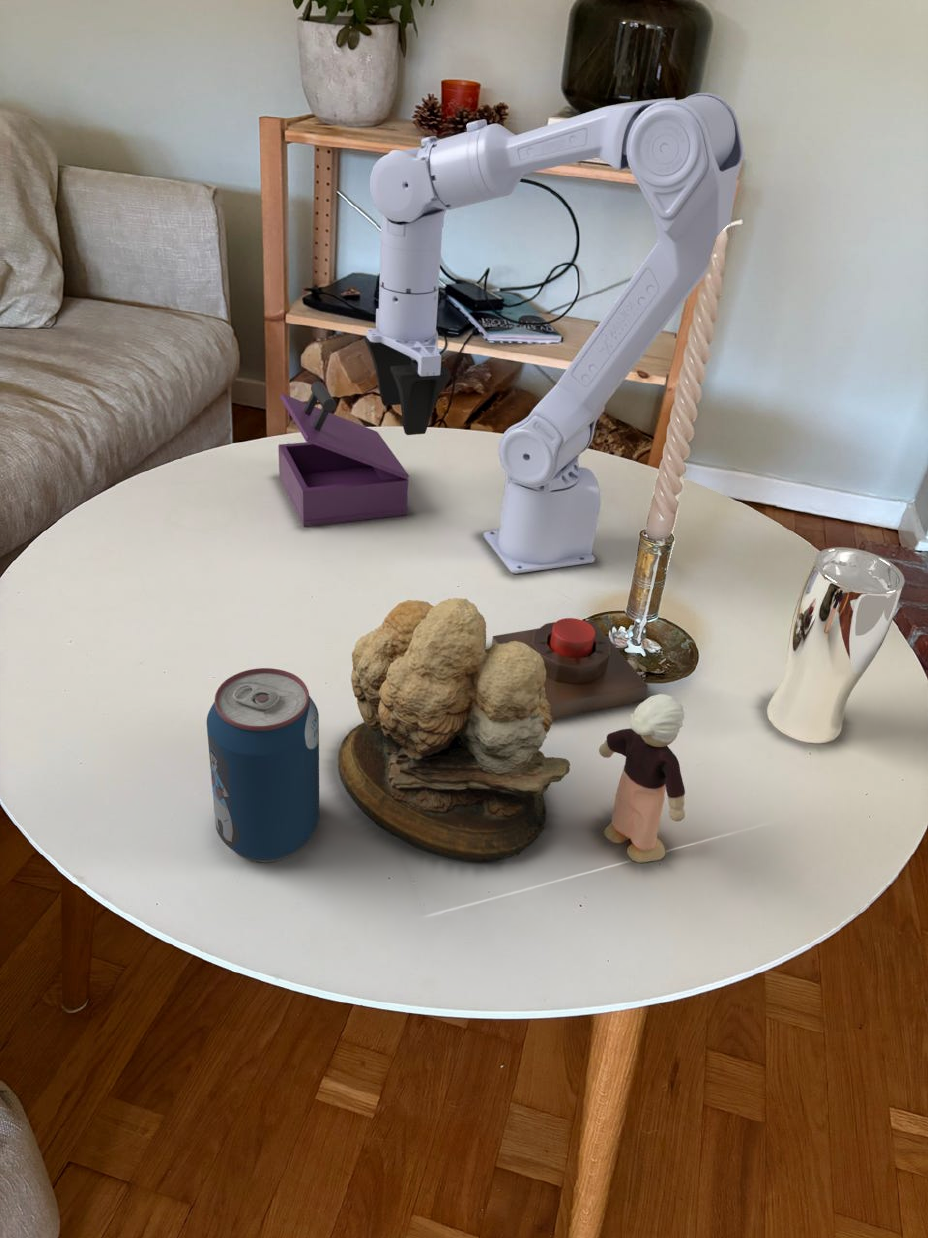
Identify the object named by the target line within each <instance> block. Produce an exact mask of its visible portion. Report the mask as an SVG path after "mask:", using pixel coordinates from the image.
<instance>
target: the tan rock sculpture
mask: <svg viewBox="0 0 928 1238" xmlns="http://www.w3.org/2000/svg"><path fill="white" fill-rule="evenodd" d="M351 662H352V671H351V674H350V675H351V676H350V682H351V687H352V691H353V695H354V697H355V698H356V699H357V700H356V704H357V708H358V710H359V713H360V716H361V718H362V720H363V722H362V723H360V724H358V725H357V726H355V727H354V728H352V730H350V731H349V732H348V733H347V734H346V736H345V737H344V738H343V740H342V741H341V745H340V747H339V750H338V756H337V760H338V761H337V762H338V763H337V766H338V774H339V777H340V781H341V783H342V785H343V786H344V789H345V791H346V792H347V793H348V795H349V797H350V798H351V799H352V801H353V802H354V803H355V804H356V805H357V806H358V808H359V809H361V811H362V812H363V813H364V814H365V815H367V816H368V817H369V819H371V820H372V821H373V822H374V823H376V824H377V825H379V826H380V827H382V828H383V829H385V830H386V831H388V832H389V833H390V834H393V835H394V836H396V837H398V838H400V839H402V840H404V841H406V842H407V843H409V844H410V845H412V846H414V847H416V848H419V849H421V850H424V851H426V852H428V853H432V854H434V855H439V856H443V857H448V858H450V859H455V860H464V861H478V862H496V861H500V860H502V859H503V858H507V857H513V856H515V855H516V856H519V855H520V853H521V852H522V851H524V850H525V849H526V848H528V847H530V846H531V845H532V844H533V843H534V842H535V841H536V840H537V839H538V838H539V836H540V835H541V833H542V831H544V830H545V825H546V820H547V807H546V802H545V797H544V794H543V793H546V792H547V791H548V789H549V787H550V786H551V784H552V783H558V782H561V781H562V779H563V778H564V777H565V776H567V775H568V774H569V773H570V771H571V770H570V769H571V767H570V766H571V763H570V761H569V760H568V759H567V758H563V757H554V756H552V757H551V756H549V757H548V756H545V755H544V753H543V752H542V751H541V750H540V748H542V747H543V745H544V742H545V740H546V739H547V738H548V736H547V734H548V732H549V731H550V730H551V726H552V725H553V723H554V722H553V720H554V719H553V717H551V716H550V707H551V705H550V704H549V703H548V700H547V699H545V697H546V695H545V687H544V683H545V680H546V669H545V666H544V661H543V658H542V657H541V655H540V654H539V653H537V652H536V651H535V650H534V649H532V648H531V647H529V646H528V645H526V644H524V643H521V642H518V641H513V642H512V641H510V642H508V643H503V644H498V643H495V644H493V645H492V644H491V646H490V647H489V648H487V622H486V619H485V617H484V615H483V614H481V612H479V609H478V607H477V606H476V605H475V603H473V602H471V601H470V600H468V599H467V598H461V597H454V598H448V599H446V600H442V601H439V603H437V604H435V606H433V605H432V604H431V603H429V601H424V600H414V599H413V600H412V599H408V600H406V601H402V602H399V603H398V604H397V605H395V607H393V608H392V609H391V610H390V612H388V614H387V615H386V616H385V618H384V621H383V622H382V623H381V625H379V626H378V627H377V628H375V629H374V630H371V631H370V632H368V633H366V634H365V635H363V636H361V637H360V638H359V639H358V640H357V641H356V642H355V644H354V648H353V650H352V652H351ZM455 739H456V740H457V743H458V745H459V746H458V747H456V748H455V747H454V748H452V749H450V750H449V751H448V754H443V753H441V751H443V750H448V747H449V746H450V745H451V743H452V742H453V741H454V740H455ZM440 753H441V754H442V755H441V754H440ZM434 754H437V755H434ZM432 755H434V756H432Z"/></svg>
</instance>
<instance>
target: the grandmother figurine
mask: <svg viewBox="0 0 928 1238" xmlns="http://www.w3.org/2000/svg"><path fill="white" fill-rule="evenodd" d="M629 717H630V718H629V727H630V728H623V729H618V730H617V731H612V732H610V733H608V734H607V735H606V740H604V742H603V743H602V744H600V745H599V748H598V753H599V754H600V756H601V757H603V758H604V759H609V758H611V757H612V756H613V755H614V753H615V754H616V753H617V754H620V755H622V756H624V757H625V762H624V765H623V771H622V773H621V775H620V777H619V781H618V785H617V788H616V792H615V797H614V805H613V809H612V816H611V822H610V823H608V825H607V826H606V827H605V829H604V830H603V835H604V836H605V838H606V839H608V840H609V841H610V842H612V843H614V844H621V843H624V842H626V841H628V840H630V841H631V844H630V845H629V846H628V847H627V848H626V854H627V855H628V856H629V858H630V859H631V860H632V861H634V862H635V863H638V864H639V863H640V864H641V863H648V862H655V861H660V860H662V859H663V858H664V857H665V856H666V848H665V845H664V844H663V842H662V841H661V839H659V838H658V833H659V827H660V821H661V818H662V813H663V808H664V804H665V799H666V798H665V797H666V795H667V801H668V806H669V810H668V815H669V819H671V821H674V822H682V821H683V820H685V817H686V810H685V809H684V807H685V794H686V789H685V786H684V781H683V776H682V773H681V767H680V762H679V760H678V757H677V756H676V755H675V754H674V752H673V750H671V748H670V747H669V745H670V744H673V742H674V741H675V740H676V738H677V737H678V734H679V733H680V729H681V728H683V720H684V719H685V712H684V706H683V704H682V703H681V702H680V701H678V700H677V699H676V698H675V697H674V696H671V695H669V694H666V693H665V694H664V693H660V694H655V695H651V696H649V697H648V698H646V699H644V701H641V702H640V703H639V704H638V705H637V707H636V708H635V710H634V711H633V713H630V714H629Z"/></svg>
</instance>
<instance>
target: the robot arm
mask: <svg viewBox="0 0 928 1238" xmlns="http://www.w3.org/2000/svg"><path fill="white" fill-rule="evenodd" d="M465 125H466V127H465V128H466V131H464V132H461V133H457V134H454V135H451V136H448V137H444V138H441V139H438V137H437V136H436V135H431V136H427V137H423V138H421V140H420V144H421V146H418V147H413V148H408V149H403V150H402V149H392V150H390V151H389V153H388V154H385V155H384V156H382V157H380V158H379V159H378V160H377V161H376V162H375V164H374V165H373V167H372V169H371V173H370V177H369V192H370V196H371V199H372V202H373V205H374V206H375V208H376V209H377V211H379V213H380V248H379V250H380V251H379V285H378V286H379V287H378V290H379V291H378V308H376V309H375V327H376V328H368V329H367V330H366V331H365V332H366V335H364V337H363V340H364V342H365V344H366V347H367V349H368V351H369V354H370V356H371V359H372V362H373V366H374V371H375V375H376V380H377V385H378V392H379V396H380V401H381V404H382V405H383V406H384V407H387V406H400V408H401V409H400V411H401V422H402V428H403V432H404V434H405V435H406V436H417V435H424V434H426V433H427V430H428V427H429V424H430V421H431V418H432V416H433V412H434V408H435V405H436V403H437V401H438V398H439V397H440V395H441V393H442V391H443V389H444V388H445V386H447V384H448V383H449V381H450V379H451V373H452V372H451V370H450V369H448V367H447V366H445V365H444V366H442V355H441V354H440V352H439V333H438V330H437V320H438V307H439V305H438V304H439V287H440V272H441V271H440V270H441V256H442V240H443V239H442V238H443V228H444V222H445V220H444V219H445V214H446V211H451V210H455V209H459V208H464V207H467V206H471V205H475V204H479V203H483V202H487V201H491V200H495V199H500V198H503V197H508V196H510V195H512V194H513V193H514V192H515V190H516V188H517V187H518V185H519V184H520V182H521V180H522V178H523V176H524V175H526V174H529V173H534V172H540V171H544V170H547V169H548V170H549V169H552V168H556V167H557V168H558V167H562V166H565V165H570V164H574V163H578V162H579V163H580V162H584V161H588V160H592V159H601V160H602V161H603V162H605V163H607V164H608V165H609V166H610V167H612V169H613V168H614V169H615V170H616V171H623V170H625V169H628V168H629V170H630V173H631V175H632V176H633V179H634V180H635V182H636V184H637V186H638V187H639V190H640V191H641V193H642V195H643V197H644V198H645V200H646V202H647V204H648V205H649V207H650V209H651V211H652V215H653V216H652V217H653V221H654V225H655V230H656V235H657V241H656V243H655V245H654V246H653V247H652V249H651V251H649V253H648V255H647V256H646V258H645V259H644V260H643V262H642V263H641V264H640V266H639V268H637V270H636V272H635V273H634V274H633V276H632V277H631V278H630V280H629V281H628V283H627V284H626V286H625V287H624V289H622V291H621V293H620V294H619V295H618V296H617V298H616V300H615V301H614V302H613V304H612V305H611V307H610V308H609V309H608V310H607V312H606V313H605V315H604V317H603V318H602V319H601V321H600V322H599V324H598V325H597V326H596V328H595V329H594V330H593V332H592V333H591V334H590V336H589V338H587V340H586V342H585V343H584V345H583V346H582V347H581V349H580V350H579V351H578V353H577V354H576V356H575V357H574V358H573V360H572V361H571V363H570V364H569V365H568V367H567V368H566V370H565V371H564V373H562V375H561V377H560V378H559V380H558V381H557V382H556V384H555V385H554V386H553V387H552V388H551V389H550V391H548V393H547V394H546V395H545V396H543V398H541V400H540V401H539V402H538V403H537V404H536V405H535V407H533V408H532V410H531V411H530V413H529V414H528V416H526V417H525V418H524V419H521V420H520V421H519V422H517V423H514V424H513V425H511V426H510V427H508V428H507V429H506V430H505V431H504V433H503V434H502V435H501V437H500V440H499V443H498V449H497V451H498V459H499V462H500V465H501V467H502V469H503V471H504V472H505V480H504V491H503V498H502V506H501V514H500V523H499V529H498V530H497V529H495V530H487V531H485V532H483V538H484V539H485V540H486V542H487V544H488V545H489V546H490V547H491V549H492V550H493V551H494V552H495V554H496V555H497V556H498V558H499V559H500V560H501V561H502V563H503V564H504V566H505V567H506V568H507V569H508V570H509V572H510V573H512V574H516V575H517V574H524V573H530V572H537V571H543V570H551V569H558V568H566V567H570V566H571V567H572V566H573V567H574V566H579V565H586V564H593V563H594V562H595V559H596V557H595V556H594V555H593V554H592V553H593V550H594V549H593V548H594V543H595V537H596V533H597V527H598V521H599V520H598V519H599V515H600V511H601V502H602V501H601V499H602V498H601V489H600V485H599V482H598V479H597V477H596V475H595V474H594V472H592V470H591V469H589V468H587V467H581V466H580V463H579V457H580V455H581V454H582V453H584V452H585V451H586V450H587V449H588V448H589V447H590V445H591V444H592V441H593V439H594V435H595V427H596V424H597V421H598V420H599V419H600V417H601V416H602V414H603V413H604V412H605V408H606V404H607V403H608V401H610V399H611V398H612V396H613V395H614V394H615V393H616V391H617V390H618V388H620V386H621V384H622V383H623V382H624V381H625V380H626V378H627V377H628V376H629V374H630V373H631V372H632V370H633V369H634V368H635V367H636V365H637V364H638V363H639V361H640V360H641V359H642V358H643V356H644V355H645V354H646V352H647V351H648V349H649V348H650V347H651V346H652V345H653V343H654V342H655V341H656V339H657V338H658V337H659V336H660V334H661V333H662V332H663V330H664V329H665V328H666V326H667V325H668V324H669V322H670V321H671V320H672V319H673V317H674V316H675V315H676V314H677V312H678V311H679V310H680V309H681V307H682V305H684V304H685V302H686V301H687V299H688V298H689V297H690V295H692V293H693V291H694V290H695V289H696V288H697V287H698V286H699V283H700V282H701V281H702V280H703V278H704V277H705V276H706V275H707V273H708V272H709V271H708V265H709V261H710V258H711V254H712V251H713V247H714V245H715V242H716V238H717V236H718V235H719V234H720V232H721V231H722V230H723V229H724V228H725V227H726V226H727V225H729V224H730V225H731V223H732V217H733V210H734V204H735V197H736V191H737V190H736V189H737V184H738V178H739V174H740V171H741V168H742V165H743V162H744V160H745V156H746V155H745V149H744V144H743V139H742V134H741V131H740V125H739V121H738V117H737V114H736V113H735V110H734V109H733V106H731V104H730V103H728V101H727V100H726V99H724V98H722V97H721V96H719V95H717V94H714V93H710V92H699V93H694V94H691V95H688V96H686V97H685V98H682V99H676V97H669V98H657V99H648V100H639V101H638V100H637V101H630V102H623V103H617V104H612V105H606V106H603V107H599V108H597V109H594V110H590V111H588V112H585V113H582V114H581V113H580V114H578V115H575V116H571V117H569V118H567V119H562V120H560V121H557V122H553V123H551V124H547V125H544V126H541V127H538V128H535V129H532V130H528V131H525V132H522V133H520V134H515V133H513V132H511V130H509V129H508V128H507V127H505V126H503V125H501V124H499V123H491V124H488V123H487V119H484V118H483V119H479V120H474V121H470V122H468V123H467V124H465ZM707 271H708V272H707Z"/></svg>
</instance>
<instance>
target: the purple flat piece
mask: <svg viewBox="0 0 928 1238" xmlns="http://www.w3.org/2000/svg"><path fill="white" fill-rule="evenodd" d="M310 391H311V394H310V396H309V398H308V400H307V402H305V401H303V400H299V399H297V398H294V397H292V396H289V395H288V394H284V393H281V395H280V397H279V398H280V399H281V402H282V403H283V405H284V407H285V408H286V410H287V412H288V413H289V415H290V417H291V419H292V420H293V422H294V423H295V426H296V427H297V428H298V431H299V433H300V434H301V435H302V437H303V439H304V442H309V443H312V444H314V445H317V446H320V447H322V448H325V449H327V450H330V451H333V452H335V453H338V454H341V455H343V456H346V457H349V458H351V459H354V460H357V461H359V462H362V463H365V464H367V465H370V466H373V467H375V468H378V469H381V470H383V471H386V472H389V473H391V474H394V475H397V476H399V477H402V478H405V479H408V480H409V477H410V474H409V473H408V472H407V471H406V469H405V468H404V466H403V465H402V463H401V462H400V461H399V459H398V458H397V457H396V455H395V454H394V452H393V451H392V450H391V449H390V447H389V446H388V444H387V443H386V442H385V440H384V439H383V437H382V436H381V434H380V433H379V432H378V431H376V430H374V429H372V428H369V427H366V426H364V425H361V424H359V423H357V422H354V421H351V420H349V419H346V418H344V417H342V416H339V415H336V414H335V413H331V412H334V411H335V410H336V408H337V403H336V401H335V399H334V398H333V396H332V395H331V393H330V392H329V390H328V389H327V388H326V386H325V385H324V383H323V382H321V381H319V380H318V381H314V382H313V383H312V384H311V386H310ZM317 402H318V403H319V405H320V406H321V408H319V407H316V405H317Z"/></svg>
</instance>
